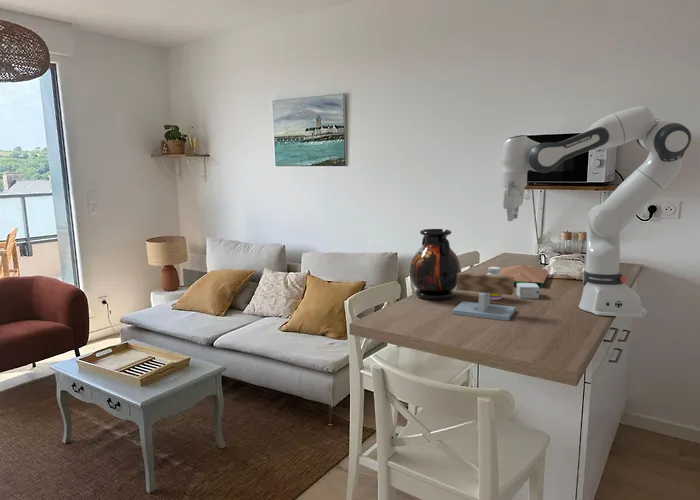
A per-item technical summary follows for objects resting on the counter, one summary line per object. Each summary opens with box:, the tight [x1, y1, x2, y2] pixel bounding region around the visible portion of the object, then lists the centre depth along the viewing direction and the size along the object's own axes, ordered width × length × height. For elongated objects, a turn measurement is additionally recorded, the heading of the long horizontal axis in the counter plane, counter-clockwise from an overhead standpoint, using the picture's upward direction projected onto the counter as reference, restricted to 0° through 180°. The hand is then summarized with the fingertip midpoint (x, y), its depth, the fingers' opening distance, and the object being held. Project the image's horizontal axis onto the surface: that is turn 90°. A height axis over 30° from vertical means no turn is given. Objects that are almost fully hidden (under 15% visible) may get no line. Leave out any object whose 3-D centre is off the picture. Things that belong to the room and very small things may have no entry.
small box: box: [516, 282, 540, 299], centre depth 204 cm, size 8×8×5 cm
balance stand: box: [452, 292, 516, 321], centre depth 181 cm, size 20×14×8 cm
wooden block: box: [456, 272, 515, 296], centre depth 180 cm, size 20×4×6 cm, turn 63°
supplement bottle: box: [485, 266, 503, 301], centre depth 201 cm, size 7×7×13 cm
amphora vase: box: [409, 228, 462, 301], centre depth 205 cm, size 22×22×28 cm
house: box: [499, 264, 549, 289], centre depth 232 cm, size 23×33×8 cm
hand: (512, 219), depth 179 cm, fingers open, 8 cm apart
